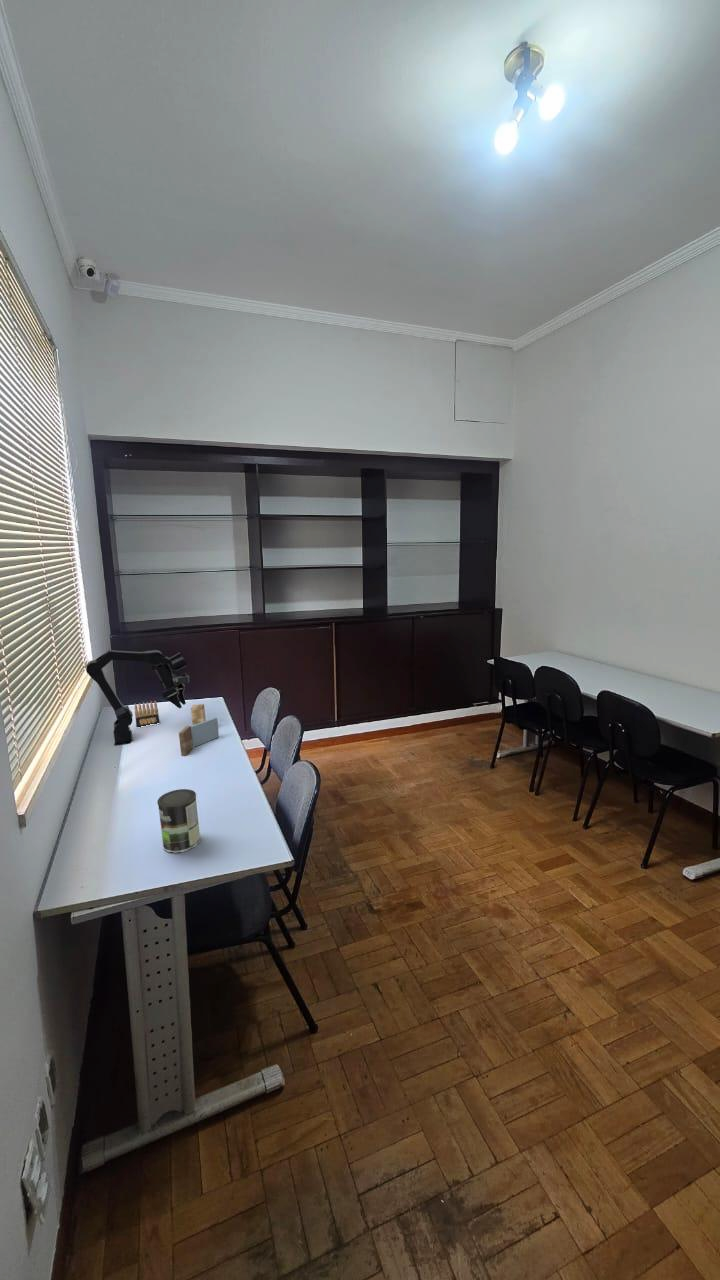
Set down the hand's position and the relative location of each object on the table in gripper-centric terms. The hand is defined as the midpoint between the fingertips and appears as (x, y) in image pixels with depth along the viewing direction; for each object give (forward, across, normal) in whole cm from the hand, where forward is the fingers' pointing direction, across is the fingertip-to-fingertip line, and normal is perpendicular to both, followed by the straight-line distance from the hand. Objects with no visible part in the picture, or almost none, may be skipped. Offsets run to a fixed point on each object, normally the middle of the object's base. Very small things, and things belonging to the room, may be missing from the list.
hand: (182, 706), depth 235 cm
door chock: (+14, +2, -1) cm, 15 cm away
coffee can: (+29, -92, -5) cm, 97 cm away
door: (+18, -13, -5) cm, 22 cm away
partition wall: (+17, -22, +2) cm, 28 cm away
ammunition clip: (+2, +18, +24) cm, 30 cm away
